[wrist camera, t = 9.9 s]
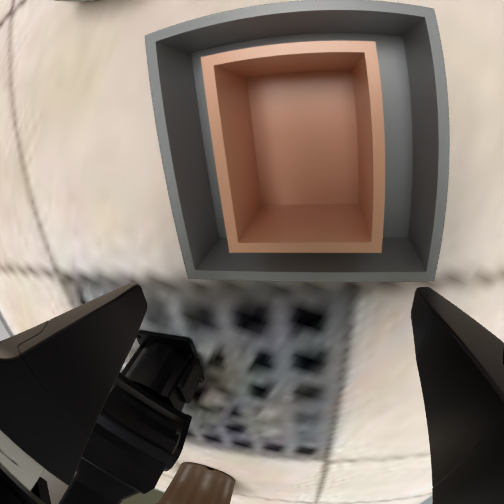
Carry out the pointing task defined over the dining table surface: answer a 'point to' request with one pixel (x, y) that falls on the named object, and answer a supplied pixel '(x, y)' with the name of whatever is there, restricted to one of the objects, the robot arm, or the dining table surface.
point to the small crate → (299, 146)
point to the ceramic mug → (74, 0)
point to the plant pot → (198, 486)
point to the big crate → (395, 129)
